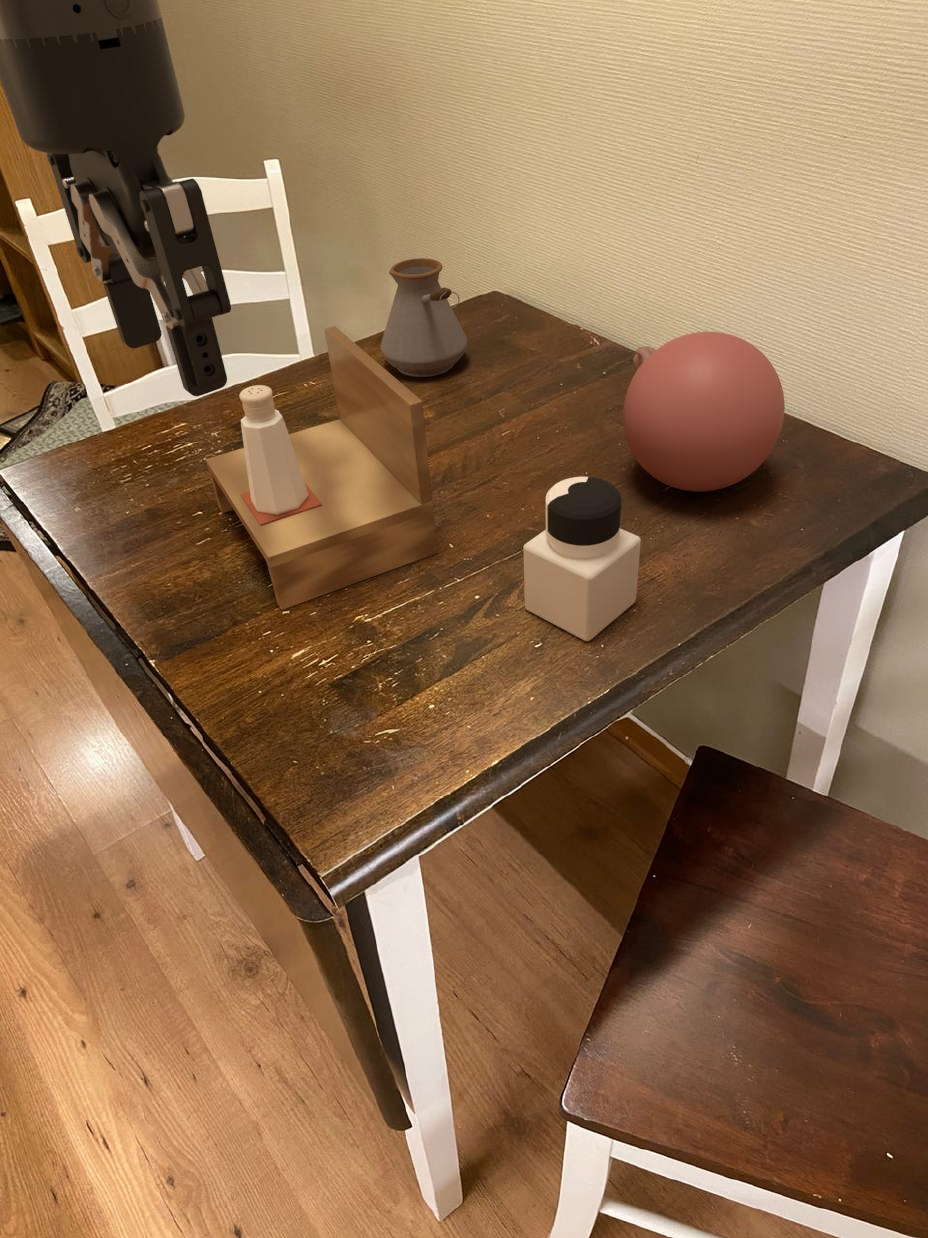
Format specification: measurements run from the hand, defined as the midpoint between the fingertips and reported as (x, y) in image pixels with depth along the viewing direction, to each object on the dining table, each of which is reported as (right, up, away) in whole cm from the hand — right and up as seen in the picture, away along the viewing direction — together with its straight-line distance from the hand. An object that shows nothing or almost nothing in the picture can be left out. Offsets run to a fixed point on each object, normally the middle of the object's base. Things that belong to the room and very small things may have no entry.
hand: (174, 365), depth 49 cm
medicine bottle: (+26, -13, +29) cm, 41 cm away
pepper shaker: (-1, -3, +34) cm, 34 cm away
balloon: (+40, +2, +45) cm, 60 cm away
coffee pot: (+12, +17, +65) cm, 68 cm away
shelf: (+2, -5, +40) cm, 41 cm away
